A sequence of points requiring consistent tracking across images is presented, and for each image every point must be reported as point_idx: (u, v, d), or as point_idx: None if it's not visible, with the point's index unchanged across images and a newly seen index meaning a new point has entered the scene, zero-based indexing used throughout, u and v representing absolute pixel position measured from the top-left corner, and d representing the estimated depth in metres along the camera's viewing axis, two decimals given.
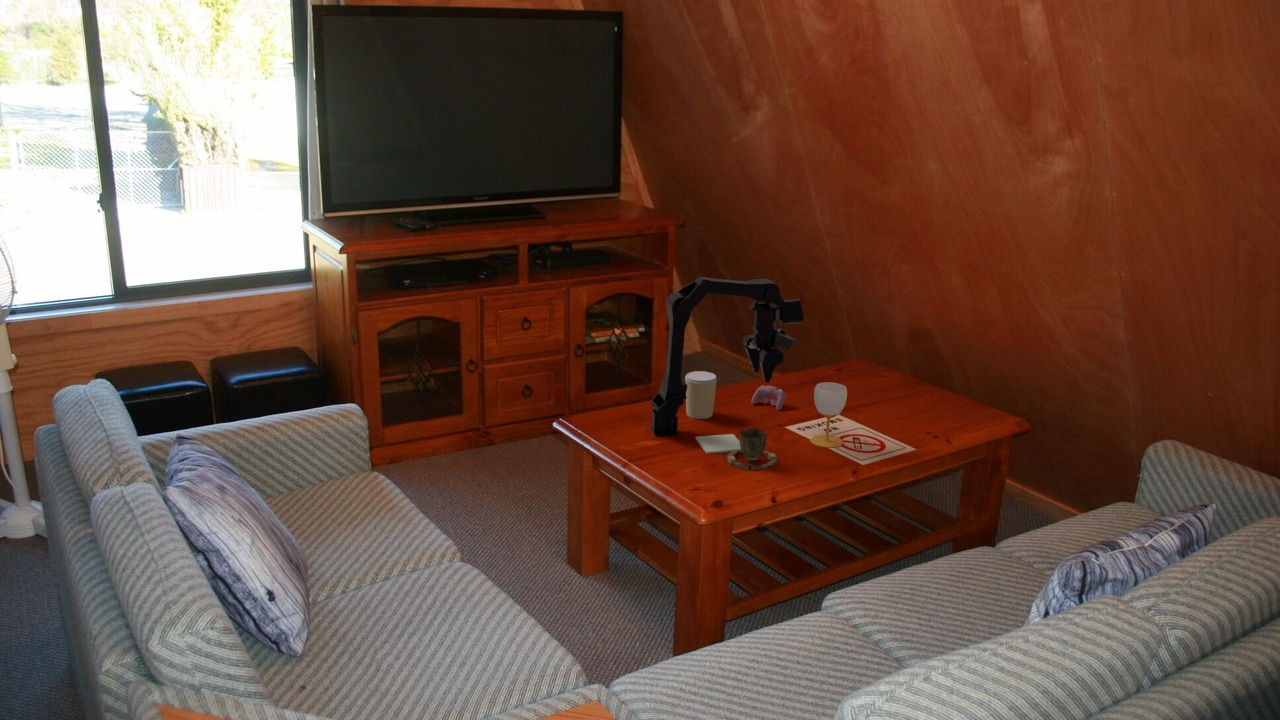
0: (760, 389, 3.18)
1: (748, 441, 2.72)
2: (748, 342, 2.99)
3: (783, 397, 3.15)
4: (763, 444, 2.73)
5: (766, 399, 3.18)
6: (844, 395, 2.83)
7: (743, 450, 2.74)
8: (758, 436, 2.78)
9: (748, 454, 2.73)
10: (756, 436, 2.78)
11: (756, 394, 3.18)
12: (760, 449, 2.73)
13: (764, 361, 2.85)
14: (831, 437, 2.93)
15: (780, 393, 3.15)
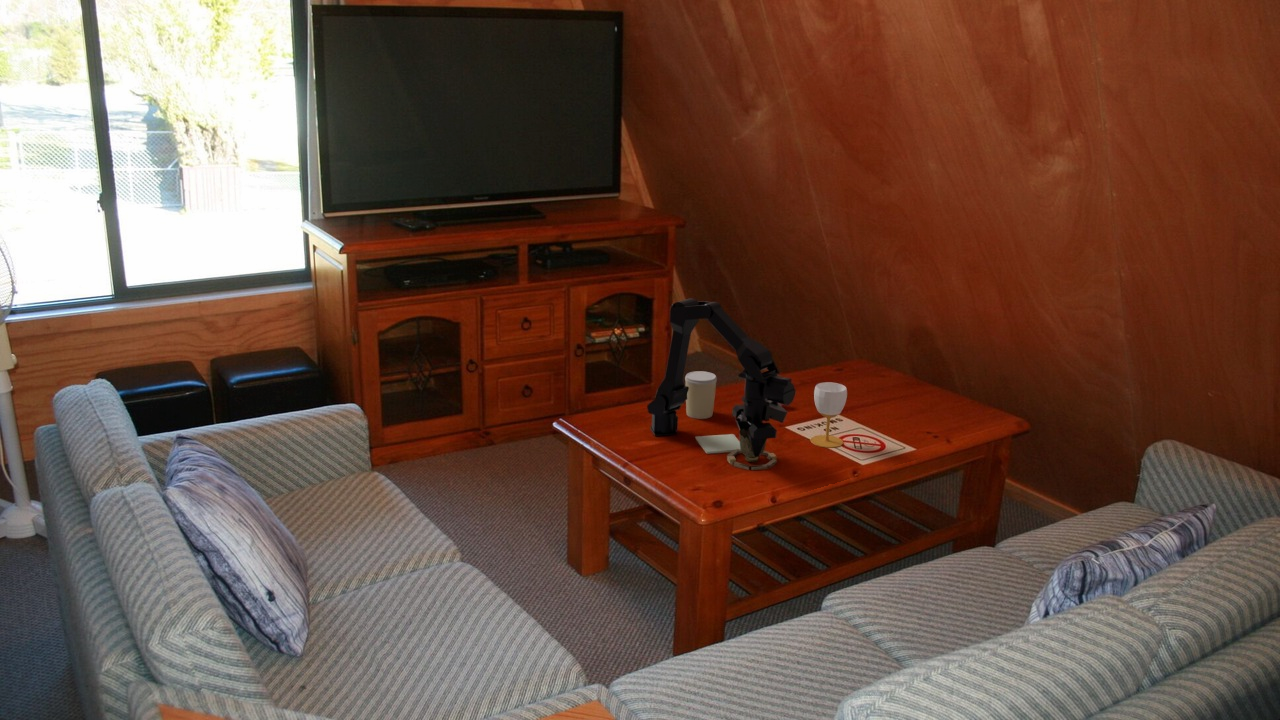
0: None
1: (748, 441, 2.72)
2: (739, 414, 2.77)
3: None
4: (763, 444, 2.73)
5: None
6: (844, 395, 2.83)
7: (743, 450, 2.74)
8: None
9: (748, 454, 2.73)
10: None
11: None
12: None
13: (754, 437, 2.65)
14: (831, 437, 2.93)
15: None
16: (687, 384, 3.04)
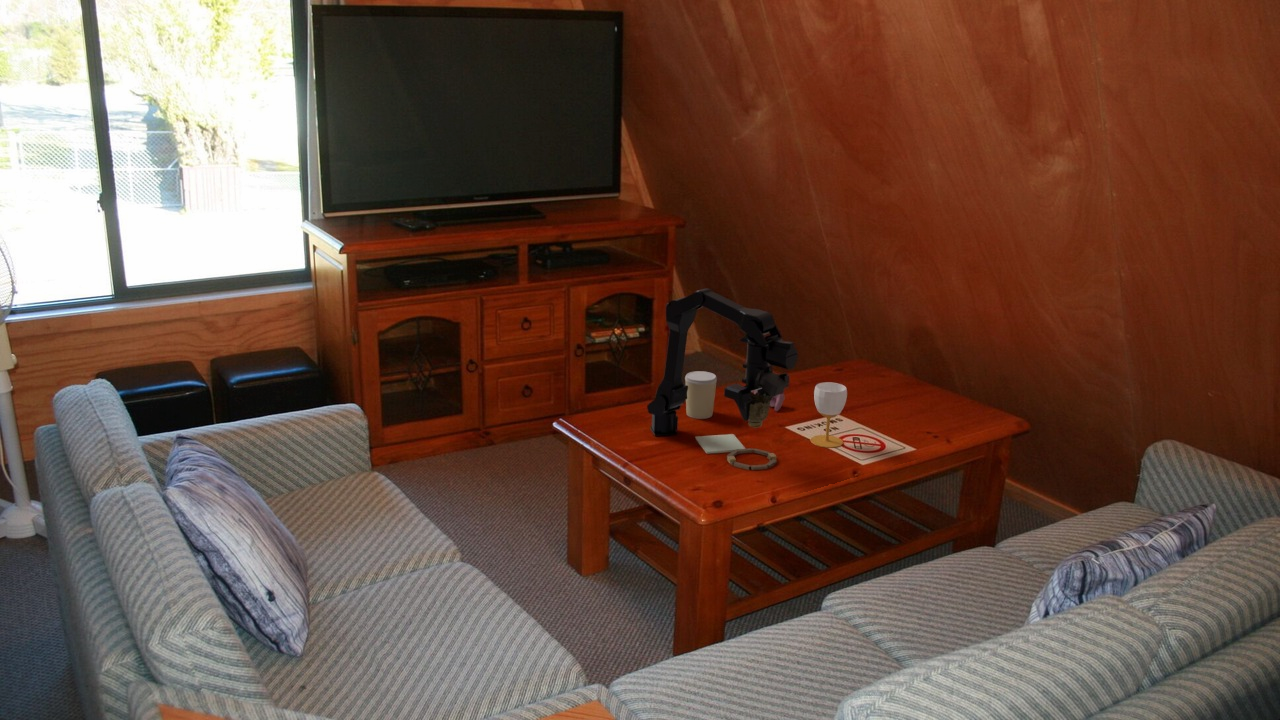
0: None
1: None
2: None
3: (782, 398, 3.14)
4: (756, 410, 2.68)
5: None
6: (844, 395, 2.83)
7: None
8: None
9: None
10: None
11: None
12: (753, 414, 2.69)
13: (724, 394, 2.67)
14: (831, 437, 2.93)
15: (779, 394, 3.14)
16: (687, 384, 3.04)
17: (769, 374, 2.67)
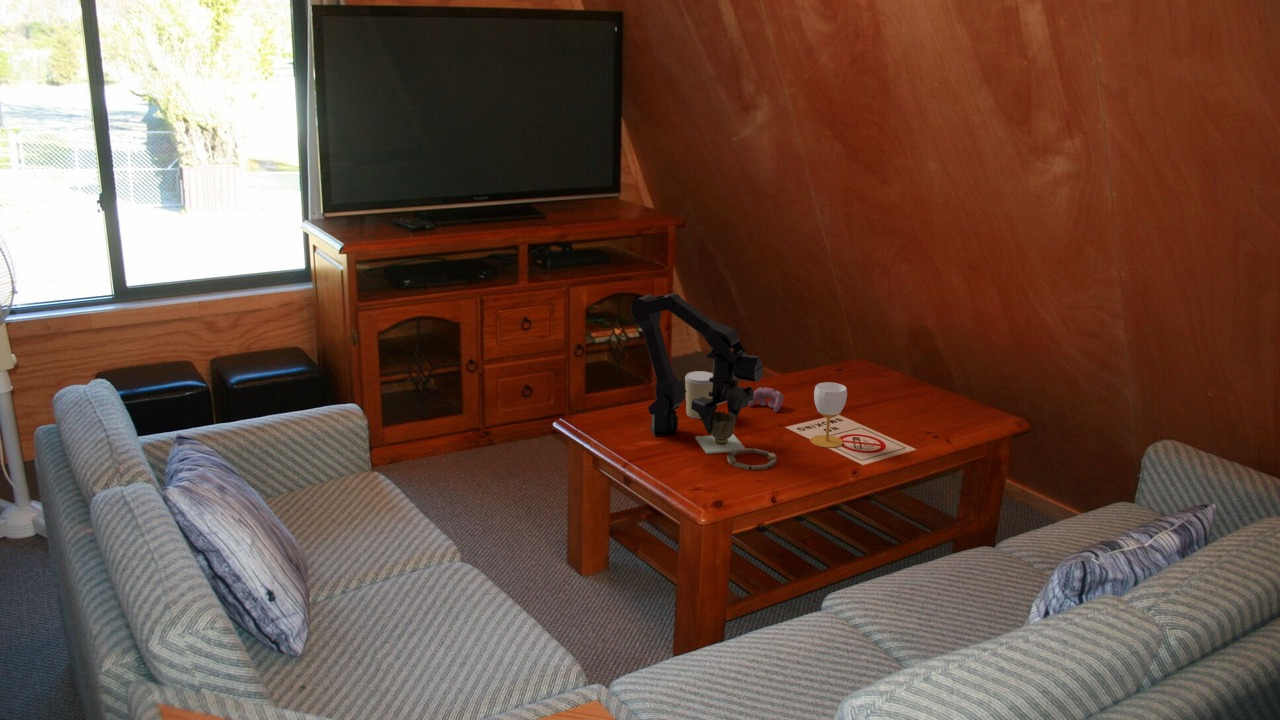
0: (758, 391, 3.16)
1: None
2: None
3: (781, 399, 3.13)
4: (722, 428, 2.81)
5: (764, 401, 3.16)
6: (844, 395, 2.83)
7: None
8: None
9: None
10: None
11: (754, 396, 3.16)
12: (718, 432, 2.82)
13: (691, 407, 2.79)
14: (831, 437, 2.93)
15: (778, 395, 3.13)
16: (687, 384, 3.04)
17: (734, 388, 2.79)
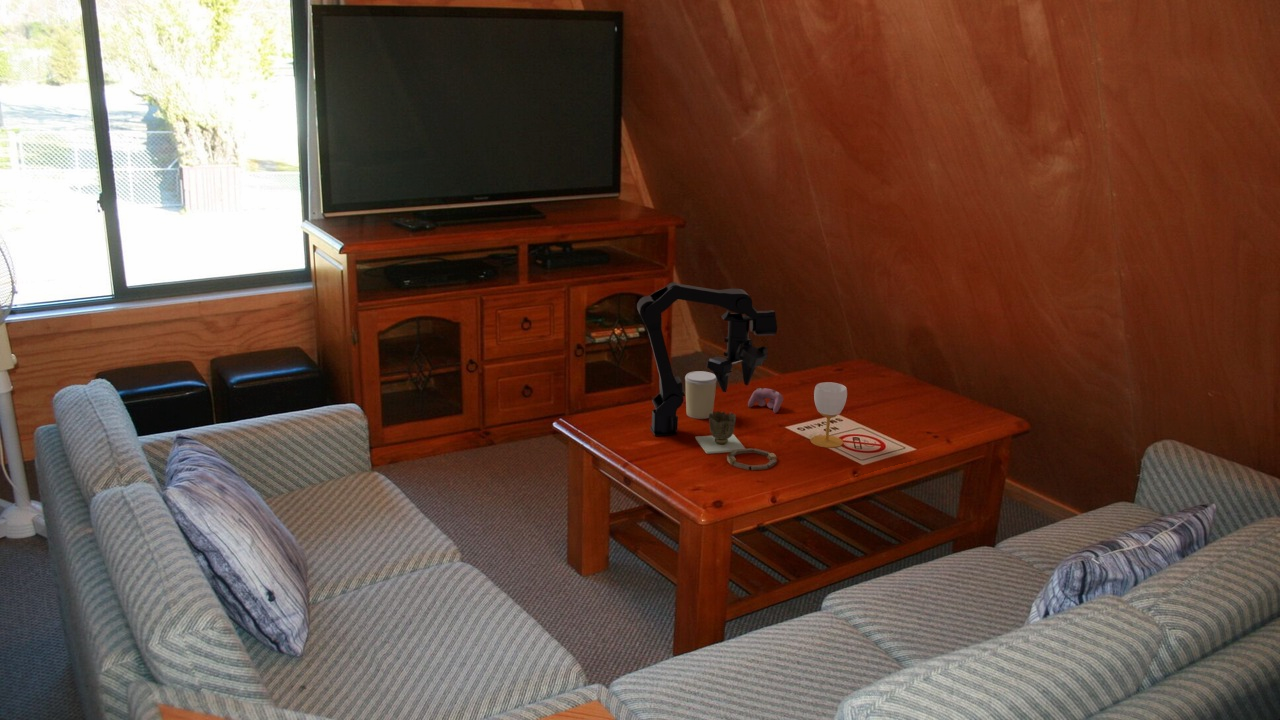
0: (757, 392, 3.16)
1: (709, 420, 2.84)
2: None
3: (780, 400, 3.12)
4: (722, 428, 2.81)
5: (763, 402, 3.16)
6: (844, 395, 2.83)
7: None
8: None
9: None
10: None
11: (753, 397, 3.16)
12: (718, 432, 2.82)
13: (707, 366, 2.87)
14: (831, 437, 2.93)
15: (777, 396, 3.13)
16: (687, 384, 3.04)
17: (749, 347, 2.87)
